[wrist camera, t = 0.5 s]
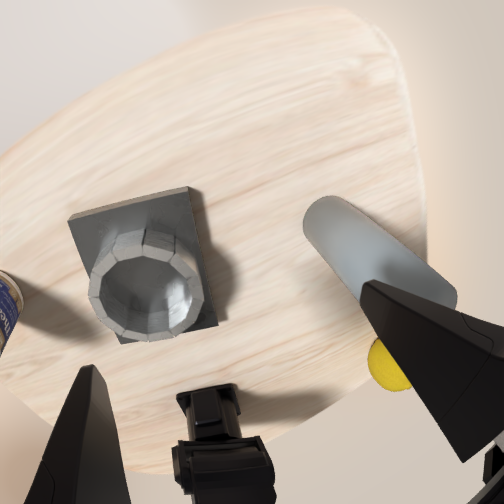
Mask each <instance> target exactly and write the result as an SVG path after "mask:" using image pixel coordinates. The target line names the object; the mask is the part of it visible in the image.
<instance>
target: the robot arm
mask: <svg viewBox="0 0 504 504" xmlns="http://www.w3.org/2000/svg"><path fill="white" fill-rule="evenodd" d="M359 302H360V306H361V308H362V310H363V311H364V313H365V315H366V317H367V318H368V320H369V322H370V323H371V325H372V327H373V329H374V330H375V332H376V334H377V336H378V337H379V339H380V340H381V342H382V343H383V345H384V346H385V348H386V349H387V350H388V352H389V353H390V355H391V356H392V358H393V359H394V360H395V362H396V363H397V365H398V366H399V368H400V369H401V370H402V372H403V373H404V375H405V376H406V378H407V379H408V381H409V382H410V383H411V385H412V386H413V388H414V389H415V391H416V392H417V394H418V395H419V397H420V398H421V400H422V401H423V403H424V404H425V406H426V407H427V409H428V410H429V412H430V413H431V415H432V416H433V418H434V419H435V421H436V422H437V423H438V426H439V427H440V429H441V430H442V432H443V433H444V435H445V437H446V438H447V440H448V441H449V443H450V445H451V446H452V447H453V449H454V451H455V453H456V454H457V456H458V457H459V459H460V461H461V462H462V463H464V462H466V461H467V460H468V459H470V458H471V457H472V456H474V455H475V454H476V453H478V452H479V451H480V450H481V449H483V448H484V447H485V446H486V445H487V444H489V443H490V442H491V441H492V440H494V442H495V444H494V445H493V446H492V447H491V448H490V449H489V450H488V451H487V453H486V454H485V461H484V473H483V481H484V483H485V484H486V485H485V487H484V488H483V489H482V490H481V491H480V492H479V493H478V494H477V495H476V496H475V497H474V498H472V499H471V500H470V502H468V503H467V504H504V327H502V326H499V325H496V324H492V323H489V322H486V321H483V320H480V319H477V318H475V317H472V316H469V315H467V314H464V313H462V312H461V313H460V312H459V311H456V310H454V309H451V308H449V307H446V306H444V305H441V304H438V303H436V302H433V301H431V300H428V299H425V298H423V297H420V296H418V295H415V294H412V293H410V292H407V291H404V290H402V289H399V288H397V287H394V286H391V285H389V284H386V283H383V282H381V281H378V280H375V279H371V280H369V281H366V282H364V283H363V285H362V289H361V294H360V299H359ZM176 400H177V402H178V404H179V405H180V407H181V409H182V411H183V412H184V414H185V416H186V418H187V425H188V434H189V441H183V440H178V445H176V446H175V447H173V448H172V459H173V468H174V476H175V481H176V482H177V483H178V484H180V485H181V488H182V489H183V491H184V495H190V494H191V497H192V504H275V502H276V498H277V495H276V492H275V490H274V486H273V485H274V483H275V472H274V467H273V463H272V461H271V458H270V456H269V454H268V452H267V450H266V449H265V446H264V444H263V442H262V440H261V438H260V436H254V437H249V438H242V434H241V430H240V426H239V421H238V417H237V416H238V415H240V414H241V412H240V408H239V405H238V402H237V398H236V395H235V392H234V388H233V385H231V384H227V385H222V386H218V387H213V388H208V389H202V390H197V391H192V392H186V393H180V394H177V395H176ZM42 460H43V461H41V462H40V465H39V467H38V470H37V473H36V475H35V478H34V480H33V483H32V486H31V488H30V490H29V493H28V495H27V497H26V499H25V502H24V504H131V500H130V496H129V492H128V487H127V483H126V478H125V473H124V468H123V462H122V457H121V451H120V445H119V439H118V433H117V428H116V423H115V419H114V415H113V411H112V407H111V403H110V398H109V394H108V389H107V385H106V382H105V380H104V378H103V377H102V375H101V374H100V372H99V371H98V370H97V368H96V367H95V366H94V365H93V364H91V365H86V366H82V367H81V368H80V370H79V372H78V374H77V376H76V378H75V381H74V383H73V385H72V387H71V389H70V391H69V394H68V396H67V398H66V400H65V403H64V405H63V407H62V409H61V412H60V414H59V416H58V419H57V421H56V424H55V426H54V429H53V431H52V434H51V436H50V438H49V441H48V443H47V446H46V449H45V451H44V454H43V456H42Z"/></svg>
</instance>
